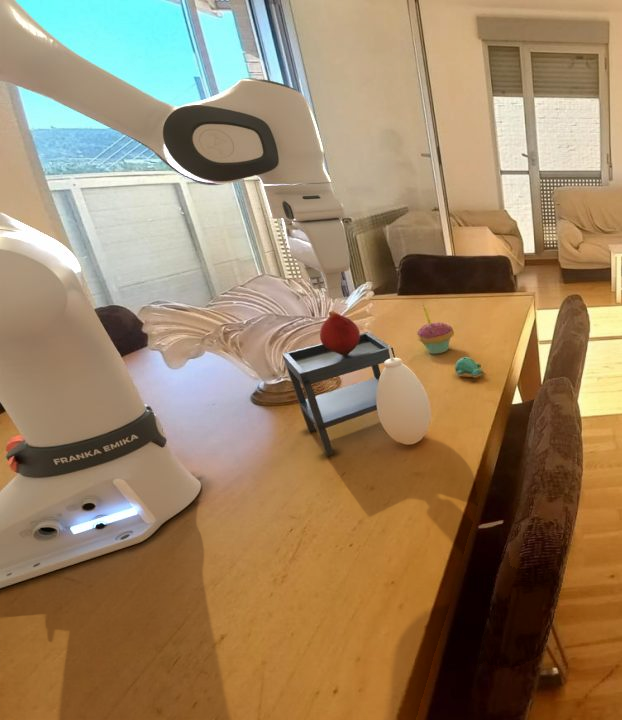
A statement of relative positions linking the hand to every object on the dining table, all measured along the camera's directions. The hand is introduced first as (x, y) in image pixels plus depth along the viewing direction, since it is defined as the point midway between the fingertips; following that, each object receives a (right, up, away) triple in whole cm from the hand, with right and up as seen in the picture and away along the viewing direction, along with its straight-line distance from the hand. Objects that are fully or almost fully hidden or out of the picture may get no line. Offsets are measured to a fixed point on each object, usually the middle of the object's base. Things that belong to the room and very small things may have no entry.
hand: (327, 292), depth 77 cm
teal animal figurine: (+14, -15, +29) cm, 35 cm away
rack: (0, -23, +10) cm, 25 cm away
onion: (0, -10, +5) cm, 11 cm away
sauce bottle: (+12, -25, +5) cm, 28 cm away
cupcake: (+2, -9, +43) cm, 44 cm away
